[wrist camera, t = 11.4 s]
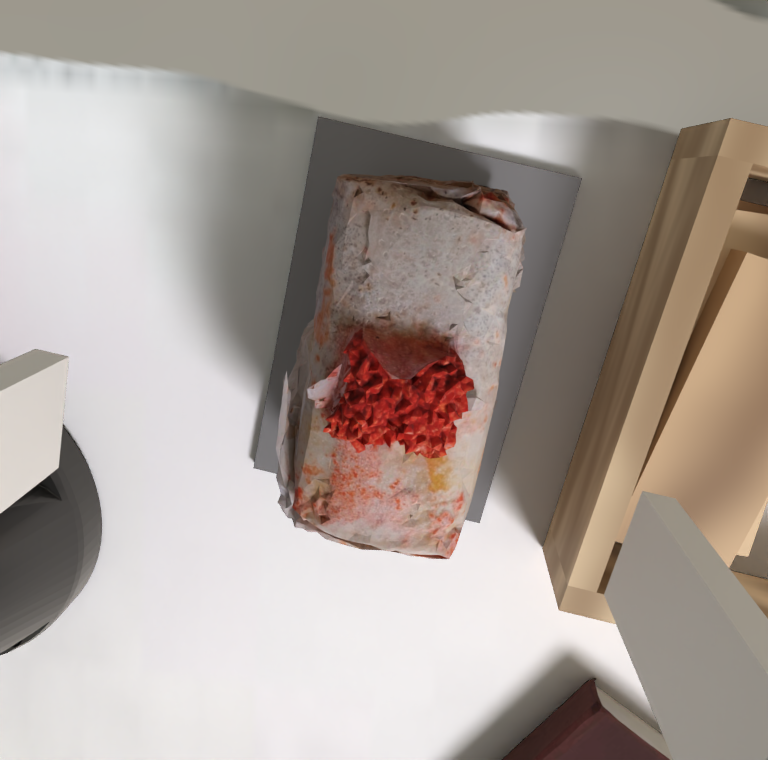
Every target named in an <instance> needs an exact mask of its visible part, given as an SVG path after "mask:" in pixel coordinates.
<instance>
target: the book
mask: <svg viewBox="0 0 768 760" xmlns="http://www.w3.org/2000/svg"><path fill="white" fill-rule="evenodd" d="M502 760H673V758H672V756H671V753H670V751H669V749H668V746H667V744H666V741H665V739H664V737H663V735H662V734H661V733H659V732H658V731H657V730H655V729H654V728H653V727H651V726H650V725H648V724H647V723H646V722H644V721H643V720H642V719H640V718H639V717H638V716H636V715H635V714H634V713H632V712H631V711H630V710H628V709H627V708H625V707H624V706H623V705H621V704H620V703H618V702H617V701H616V700H614V699H613V698H612V697H610V696H609V695H608V694H606V693H605V692H604V691H602V690H601V689H600V688H598V687H597V686H596V685H595V679H593V680H589V681H587V682H586V683H585V684H584V685H583V686H581V687H580V688H579V689H578V690H577V691H576V692H575V693H574V694H573V695H572V696H571V697H570V698H569V699H568V700H567V701H566V702H565V703H564V704H563V705H562V706H560V707H559V708H558V709H557V710H556V711H555V712H554V713H553V714H552V715H551V716H549V717H548V718H547V719H546V720H545V721H544V722H543V723H542V724H541V725H540V726H538V727H537V728H536V729H535V730H534V731H533V732H532V733H531V734H530V735H528V736H527V737H526V738H525V739H524V740H523V741H522V742H520V743H519V744H518V745H517V746H516V747H515V748H514V749H513V750H512V751H511V752H510V753H509V754H508V755H507V756H506V757H504V758H503V759H502Z"/></svg>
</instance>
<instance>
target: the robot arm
mask: <svg viewBox="0 0 768 760" xmlns="http://www.w3.org/2000/svg"><path fill="white" fill-rule="evenodd" d="M68 363H69V357H68V356H64V355H59V354H55V353H51V352H47V351H42V350H38V349H34V350H32V351H30V352H27V353H25V354H23V355H21V356H18V357H16V358H14V359H11V360H9V361H7V362H5V363H2V364H0V655H3V654H5V653H8V652H10V651H12V650H14V649H16V648H18V647H20V646H22V645H24V644H26V643H28V642H29V641H31V640H32V639H34V638H35V637H37V636H38V635H39V634H41V633H42V632H43V631H44V630H46V629H47V628H48V627H49V626H50V625H51V624H52V623H53V622H54V621H55V620H56V619H57V618H58V617H59V616H60V615H61V614H62V613H63V612H64V610H65V609H66V608H67V607H68V606H69V605H70V604H71V603H72V601H73V600H74V599H75V598H76V597H77V596H78V594H79V593H80V592H81V591H82V589H83V588H84V586H85V585H86V583H87V582H88V580H89V578H90V576H91V574H92V572H93V570H94V567H95V564H96V561H97V558H98V554H99V550H100V544H101V536H102V517H101V508H100V502H99V497H98V493H97V489H96V486H95V483H94V480H93V477H92V475H91V472H90V470H89V467H88V465H87V463H86V461H85V459H84V457H83V456H82V454H81V452H80V450H79V449H78V447H77V446H76V444H75V443H74V441H73V440H72V438H71V437H70V436H69V434H68V433H67V432H66V430H65V429H64V428H63V416H64V405H65V395H66V384H67V374H68ZM604 596H605V599H606V601H607V603H608V606H609V608H610V611H611V613H612V615H613V618H614V620H615V622H616V625H617V627H618V630H619V632H620V634H621V637H622V639H623V641H624V644H625V646H626V649H627V651H628V653H629V656H630V658H631V661H632V663H633V665H634V668H635V670H636V672H637V675H638V677H639V680H640V682H641V684H642V687H643V689H644V691H645V694H646V696H647V699H648V701H649V703H650V706H651V708H652V711H653V713H654V715H655V718H656V720H657V722H658V725H659V727H660V730H661V732H662V734H663V737H664V739H665V741H666V744H667V746H668V749H669V751H670V753H671V756H672V758H673V760H768V618H767V617H766V616H765V614H764V613H763V612H762V610H761V609H760V608H759V607H758V605H757V604H756V603H755V601H754V600H753V599H752V597H751V596H750V595H749V594H748V592H747V591H746V590H745V588H744V587H743V586H742V584H741V583H740V582H739V581H738V579H737V578H736V577H735V575H734V574H733V573H732V571H731V570H730V569H729V567H728V566H727V565H726V564H725V562H724V561H723V560H722V558H721V557H720V556H719V554H718V553H717V552H716V551H715V549H714V548H713V547H712V545H711V544H710V543H709V541H708V540H707V539H706V538H705V536H704V535H703V534H702V532H701V531H700V530H699V528H698V527H697V526H696V525H695V523H694V522H693V521H692V519H691V518H690V517H689V515H688V514H687V513H686V512H685V510H684V509H683V508H682V506H681V505H680V504H679V502H678V501H677V500H676V499H675V498H671V497H667V496H662V495H658V494H654V493H650V492H645V491H642V493H641V496H640V498H639V501H638V504H637V506H636V509H635V512H634V515H633V517H632V520H631V523H630V525H629V528H628V531H627V534H626V536H625V539H624V542H623V544H622V547H621V550H620V553H619V555H618V558H617V561H616V563H615V566H614V569H613V572H612V574H611V577H610V580H609V582H608V585H607V588H606V591H605V593H604Z"/></svg>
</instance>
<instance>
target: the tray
mask: <svg viewBox="0 0 768 760" xmlns="http://www.w3.org/2000/svg"><path fill="white" fill-rule="evenodd" d="M748 178H752V179H756V180H761V181H765V182H768V127H767V126H763V125H758V124H754V123H750V122H746V121H741V120H737V119H733V118H729V119H724V120H720V121H715V122H710V123H706V124H701V125H696V126H692V127H687V128H682V129H681V131H680V134H679V137H678V140H677V143H676V146H675V149H674V152H673V155H672V158H671V161H670V164H669V167H668V170H667V173H666V176H665V179H664V182H663V186H662V189H661V192H660V195H659V198H658V201H657V204H656V207H655V210H654V213H653V216H652V219H651V222H650V225H649V228H648V231H647V234H646V237H645V240H644V243H643V246H642V249H641V252H640V255H639V258H638V261H637V264H636V267H635V270H634V273H633V276H632V279H631V282H630V285H629V288H628V291H627V294H626V297H625V300H624V303H623V306H622V309H621V312H620V315H619V318H618V321H617V324H616V327H615V331H614V334H613V337H612V340H611V343H610V346H609V349H608V352H607V355H606V358H605V361H604V364H603V367H602V370H601V373H600V376H599V379H598V382H597V385H596V388H595V391H594V394H593V397H592V400H591V403H590V406H589V409H588V412H587V415H586V418H585V421H584V424H583V427H582V430H581V433H580V436H579V439H578V442H577V445H576V448H575V451H574V454H573V457H572V460H571V463H570V466H569V469H568V472H567V476H566V479H565V482H564V485H563V488H562V491H561V494H560V497H559V500H558V503H557V506H556V509H555V512H554V515H553V518H552V521H551V524H550V527H549V530H548V533H547V536H546V539H545V542H544V545H543V548H542V549H543V552H544V556H545V560H546V564H547V567H548V571H549V575H550V579H551V582H552V586H553V590H554V594H555V597H556V601H557V605H558V609H559V610H560V611H564V612H568V613H572V614H576V615H580V616H584V617H588V618H593V619H597V620H601V621H605V622H609V623H613V624H616V622H615V620H614V618H613V615H612V613H611V611H610V608H609V606H608V603H607V601H606V599H605V596H604V593H605V591H606V588H607V585H608V582H609V580H610V577H611V574H612V572H613V569H614V566H615V563H616V561H617V558H618V555H619V553H620V550H621V547H622V544H620V543H615V541H616V538H617V535H618V532H619V530H620V527H621V524H622V521H623V519H624V516H625V513H626V510H627V508H628V505H629V502H630V499H631V497H632V494H633V491H634V488H635V486H636V483H637V480H638V478H639V475H640V472H641V469H642V467H643V464H644V461H645V458H646V456H647V453H648V450H649V447H650V445H651V442H652V439H653V436H654V434H655V431H656V428H657V425H658V423H659V420H660V417H661V414H662V412H663V409H664V406H665V404H666V401H667V398H668V395H669V393H670V390H671V387H672V384H673V382H674V379H675V376H676V373H677V371H678V368H679V365H680V362H681V360H682V357H683V354H684V351H685V349H686V346H687V343H688V340H689V338H690V335H691V332H692V330H693V327H694V324H695V321H696V319H697V316H698V313H699V310H700V308H701V305H702V302H703V299H704V297H705V294H706V291H707V288H708V286H709V283H710V280H711V277H712V275H713V272H714V269H715V266H716V264H717V261H718V258H719V256H720V253H721V250H722V247H723V245H724V242H725V239H726V236H727V234H728V231H729V228H730V225H731V223H732V220H733V217H734V214H735V212H736V209H737V206H738V203H739V201H740V198H741V195H742V193H743V190H744V187H745V184H746V182H747V179H748ZM732 573H733V574H734V575H735V577H736V578H737V579H738V581H739V582H740V583H741V584H742V586H743V587H744V588H745V590H746V591H747V592H748V594H749V595H750V596H751V597H752V599H753V600H754V601H755V603H756V604H757V605H758V607H759V608H760V609H761V610H762V612H763V613H764V614H765V616H766V617H767V618H768V580H767V579H763V578H759V577H755V576H751V575H747V574H743V573H739V572H735V571H732Z"/></svg>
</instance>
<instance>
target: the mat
mask: <svg viewBox="0 0 768 760" xmlns="http://www.w3.org/2000/svg"><path fill="white" fill-rule="evenodd" d="M342 174H364V175H374V176H383V175H395V176H399V175H404V176H417V177H421V178H426V179H432V180H439V181H449V180H450V181H451V180H455V181H473V183H474V184H476V185H481V186H488V187H490V188H493V189H499V190H505V191H508V193H509V197H510V199H511V201H512V202H513V203H514V204H515V206H514V209H515V210H516V212H517V214H518V216H519V217H520V219H521V221H522V223H523V226H524V227H525V228H527V229H526V231H525V239H526V241H525V243H524V245H523V249H524V252H525V253H524V257H525V260H523V261H522V266H523V273H522V277H521V282H520V287H518V288H516V289H514V290H515V291H516V292H513V293H512V296H511V300H510V304H509V308H508V315H507V333H506V338H505V344H504V350H503V356H502V361H501V366H500V371H499V385H498V391H497V396H496V400H497V404H496V408H495V409H493V413H492V417H491V422H490V426H489V430H488V435H487V439H486V443H485V448H484V452H483V456H482V461H481V465H480V470H479V473H478V476H477V480H476V485H475V489H474V493H473V497H472V500H471V503H470V507H469V510H468V513H467V515H466V518H465V520H469V521H473V522H477V523H480V520H481V516H482V513H483V510H484V506H485V503H486V500H487V496H488V493H489V490H490V486H491V483H492V479H493V476H494V473H495V469H496V466H497V463H498V459H499V456H500V452H501V449H502V446H503V442H504V439H505V436H506V432H507V429H508V426H509V422H510V419H511V415H512V412H513V409H514V405H515V402H516V399H517V395H518V392H519V389H520V385H521V382H522V378H523V375H524V372H525V368H526V365H527V362H528V358H529V355H530V352H531V348H532V345H533V341H534V338H535V335H536V331H537V328H538V325H539V321H540V318H541V315H542V311H543V308H544V304H545V301H546V298H547V294H548V291H549V288H550V284H551V281H552V278H553V274H554V271H555V267H556V264H557V261H558V257H559V254H560V251H561V247H562V244H563V240H564V237H565V234H566V230H567V227H568V224H569V220H570V217H571V214H572V210H573V207H574V203H575V200H576V197H577V193H578V190H579V187H580V183H581V180H582V178H578V177H573V176H569V175H565V174H561V173H556V172H552V171H548V170H544V169H539V168H535V167H531V166H526V165H522V164H518V163H514V162H509V161H505V160H501V159H497V158H492V157H488V156H484V155H480V154H475V153H471V152H467V151H463V150H458V149H454V148H450V147H446V146H441V145H437V144H433V143H429V142H424V141H420V140H416V139H412V138H407V137H403V136H399V135H394V134H390V133H386V132H382V131H377V130H373V129H369V128H365V127H360V126H356V125H352V124H348V123H343V122H339V121H335V120H331V119H326V118H322V117H318V122H317V127H316V133H315V138H314V144H313V149H312V154H311V160H310V165H309V171H308V176H307V181H306V187H305V192H304V198H303V203H302V208H301V214H300V219H299V225H298V230H297V235H296V241H295V246H294V252H293V257H292V263H291V268H290V273H289V279H288V284H287V290H286V295H285V300H284V306H283V311H282V317H281V322H280V327H279V333H278V338H277V344H276V349H275V355H274V360H273V365H272V371H271V376H270V382H269V387H268V392H267V398H266V403H265V409H264V414H263V419H262V425H261V430H260V436H259V441H258V446H257V452H256V457H255V463H254V468H256V469H260V470H264V471H268V472H272V473H276V474H277V472H278V456H277V452H276V443H277V436H278V420H279V415H280V410H281V404H282V389H283V379H284V376H285V374H286V371H287V380H288V378H289V376H290V374H291V372H292V370H293V368H294V365H295V363H296V361H297V350H298V348H299V344H300V340H301V336H302V334H303V332H304V329H305V328H306V327H307V324H308V323H309V322H310V321H311V320H312V319H314V315H315V310H316V291H317V287H318V283H319V277H320V272H321V267H322V251H323V248H324V247H325V245H326V240H327V228H328V220H329V217H330V212H331V208H332V204H333V197H332V193H333V190H334V187H335V184H336V180H337V177H338V176H340V175H342Z"/></svg>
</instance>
